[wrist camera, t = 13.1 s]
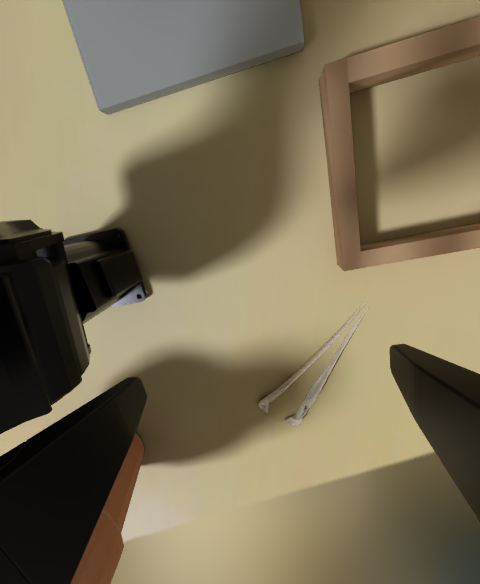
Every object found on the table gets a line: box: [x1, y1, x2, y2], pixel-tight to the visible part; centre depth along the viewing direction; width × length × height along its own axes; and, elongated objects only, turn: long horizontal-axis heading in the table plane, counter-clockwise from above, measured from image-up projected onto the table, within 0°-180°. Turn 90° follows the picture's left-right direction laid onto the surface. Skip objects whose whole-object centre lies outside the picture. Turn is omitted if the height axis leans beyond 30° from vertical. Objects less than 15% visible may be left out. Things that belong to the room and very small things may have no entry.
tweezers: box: [258, 299, 369, 425], centre depth 23 cm, size 18×5×2 cm, turn 151°
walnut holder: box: [319, 16, 480, 271], centre depth 16 cm, size 12×12×2 cm
